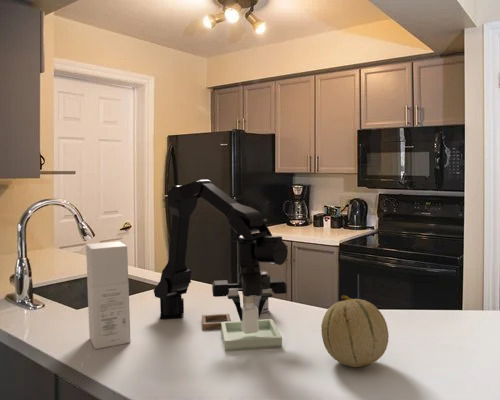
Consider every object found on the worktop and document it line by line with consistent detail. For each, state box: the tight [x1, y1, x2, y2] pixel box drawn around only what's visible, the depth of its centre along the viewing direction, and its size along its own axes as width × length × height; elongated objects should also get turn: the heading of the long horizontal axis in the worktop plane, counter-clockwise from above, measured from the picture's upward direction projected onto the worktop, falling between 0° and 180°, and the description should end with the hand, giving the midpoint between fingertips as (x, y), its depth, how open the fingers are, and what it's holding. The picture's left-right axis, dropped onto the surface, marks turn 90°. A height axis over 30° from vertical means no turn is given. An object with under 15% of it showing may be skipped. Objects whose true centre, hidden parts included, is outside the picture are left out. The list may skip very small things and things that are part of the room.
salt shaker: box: [241, 294, 260, 334], centre depth 118 cm, size 4×4×10 cm
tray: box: [220, 318, 283, 352], centre depth 118 cm, size 14×14×2 cm
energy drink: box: [255, 270, 269, 314], centre depth 141 cm, size 5×5×12 cm
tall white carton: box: [85, 241, 131, 350], centre depth 118 cm, size 9×9×25 cm
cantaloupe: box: [320, 294, 390, 368], centre depth 102 cm, size 15×15×15 cm
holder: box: [201, 313, 232, 331], centre depth 130 cm, size 8×8×2 cm
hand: (249, 319), depth 118 cm, fingers closed on salt shaker, 4 cm apart
